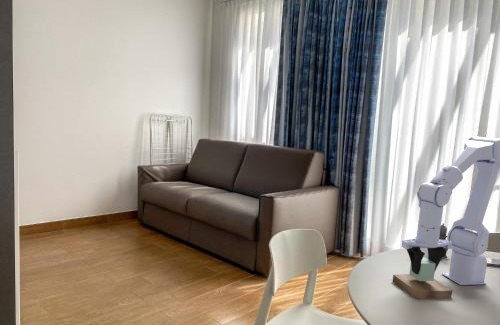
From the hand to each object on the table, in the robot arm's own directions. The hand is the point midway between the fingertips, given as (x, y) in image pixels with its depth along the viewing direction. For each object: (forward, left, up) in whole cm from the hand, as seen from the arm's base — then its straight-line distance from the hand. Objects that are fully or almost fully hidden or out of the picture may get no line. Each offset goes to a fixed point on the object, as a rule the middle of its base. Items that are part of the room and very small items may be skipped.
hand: (423, 272), depth 109 cm
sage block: (0, 0, -2) cm, 2 cm away
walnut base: (0, 0, -5) cm, 5 cm away
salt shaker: (-26, -25, -5) cm, 36 cm away
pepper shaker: (-18, -24, -5) cm, 30 cm away
